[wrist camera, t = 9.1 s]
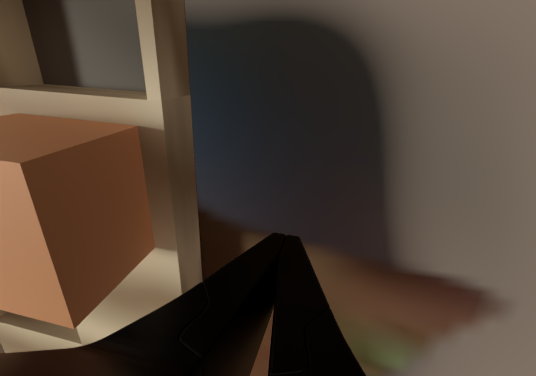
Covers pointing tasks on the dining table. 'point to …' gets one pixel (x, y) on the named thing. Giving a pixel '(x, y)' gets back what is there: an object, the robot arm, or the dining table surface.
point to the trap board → (120, 112)
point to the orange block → (68, 214)
